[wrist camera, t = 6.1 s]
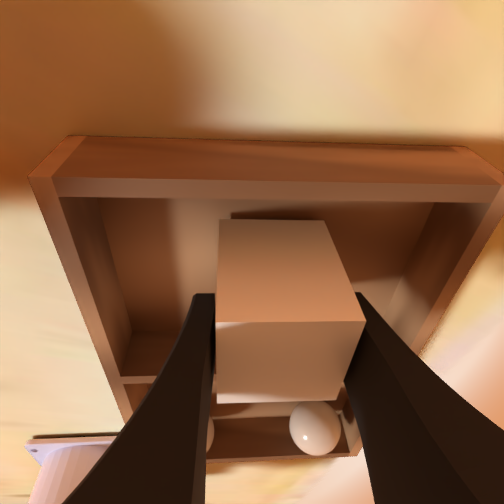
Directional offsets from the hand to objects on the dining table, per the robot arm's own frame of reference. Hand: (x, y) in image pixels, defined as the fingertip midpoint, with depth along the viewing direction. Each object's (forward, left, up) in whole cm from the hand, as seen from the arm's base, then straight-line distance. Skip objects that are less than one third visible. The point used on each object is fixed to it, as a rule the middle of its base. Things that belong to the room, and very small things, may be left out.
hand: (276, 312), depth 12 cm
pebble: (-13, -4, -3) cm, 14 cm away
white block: (0, 0, -3) cm, 3 cm away
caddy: (-5, 0, -4) cm, 7 cm away
